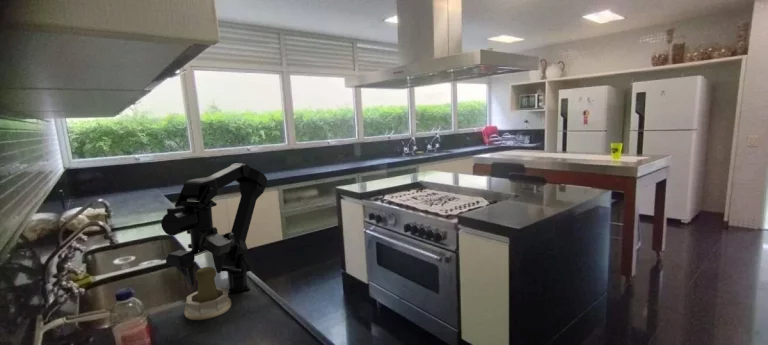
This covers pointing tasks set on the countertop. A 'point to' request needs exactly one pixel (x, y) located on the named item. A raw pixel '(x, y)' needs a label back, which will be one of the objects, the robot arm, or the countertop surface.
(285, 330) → the countertop surface
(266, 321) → the countertop surface
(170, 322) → the countertop surface
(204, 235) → the robot arm
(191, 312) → the dock socket
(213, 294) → the olive brown tapered peg
